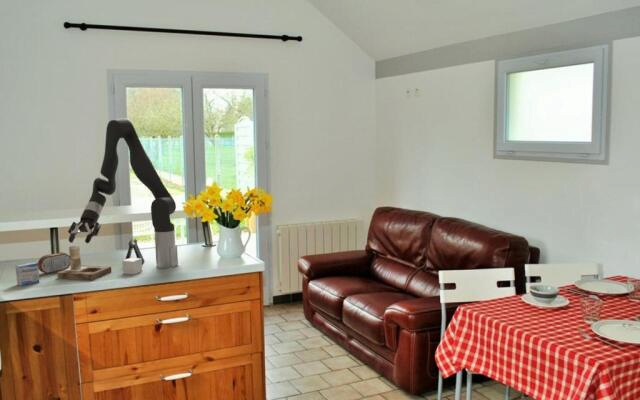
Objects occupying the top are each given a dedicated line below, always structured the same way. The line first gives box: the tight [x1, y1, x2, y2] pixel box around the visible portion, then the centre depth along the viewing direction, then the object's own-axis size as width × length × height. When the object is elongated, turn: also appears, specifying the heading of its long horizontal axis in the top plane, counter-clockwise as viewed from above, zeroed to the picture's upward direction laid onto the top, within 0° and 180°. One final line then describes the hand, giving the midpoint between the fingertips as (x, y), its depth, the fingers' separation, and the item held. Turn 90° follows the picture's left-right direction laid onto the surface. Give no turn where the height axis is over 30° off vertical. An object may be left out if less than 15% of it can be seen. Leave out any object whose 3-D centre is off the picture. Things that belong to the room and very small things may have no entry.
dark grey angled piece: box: [124, 238, 145, 266], centre depth 289 cm, size 9×6×12 cm, turn 98°
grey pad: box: [64, 267, 87, 271], centre depth 271 cm, size 7×7×1 cm
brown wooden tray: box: [56, 264, 112, 281], centre depth 270 cm, size 18×14×2 cm
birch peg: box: [68, 245, 82, 270], centre depth 271 cm, size 4×4×10 cm
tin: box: [37, 252, 71, 274], centre depth 277 cm, size 15×3×8 cm, turn 141°
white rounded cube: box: [122, 257, 143, 275], centre depth 274 cm, size 6×6×6 cm
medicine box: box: [15, 261, 40, 287], centre depth 258 cm, size 8×4×9 cm, turn 138°
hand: (78, 242), depth 272 cm, fingers open, 8 cm apart
